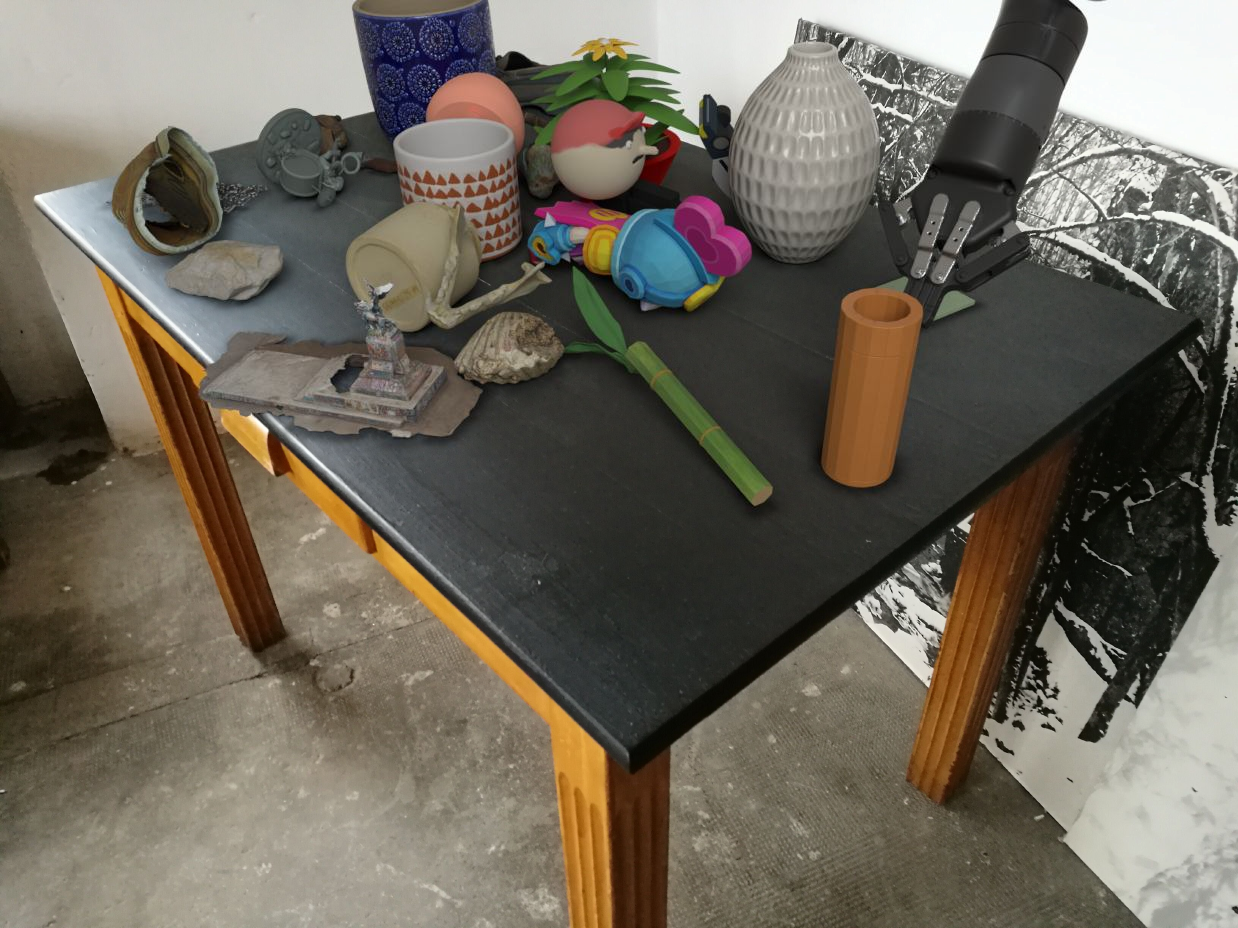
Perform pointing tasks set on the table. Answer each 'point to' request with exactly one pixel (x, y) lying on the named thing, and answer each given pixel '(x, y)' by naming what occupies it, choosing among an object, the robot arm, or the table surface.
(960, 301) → the coaster
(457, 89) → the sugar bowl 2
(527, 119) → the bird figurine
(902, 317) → the jar
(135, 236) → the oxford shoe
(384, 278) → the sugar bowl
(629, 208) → the toy
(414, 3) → the planter
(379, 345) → the monument
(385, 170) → the knife
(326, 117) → the figurine
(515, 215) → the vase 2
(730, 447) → the decorative plant
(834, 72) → the vase
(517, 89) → the loafer
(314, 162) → the figurine
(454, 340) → the table surface
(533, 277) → the jawbone
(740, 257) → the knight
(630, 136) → the toy
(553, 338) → the seashell
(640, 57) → the potted flower
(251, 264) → the stone
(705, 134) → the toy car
